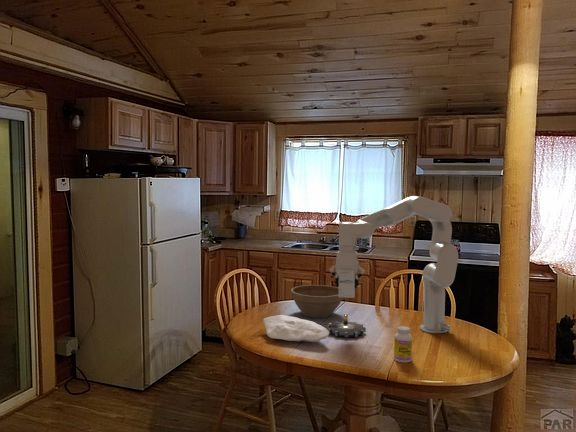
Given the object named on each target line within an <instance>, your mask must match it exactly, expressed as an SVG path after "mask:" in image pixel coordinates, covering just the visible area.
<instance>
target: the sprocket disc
mask: <svg viewBox="0 0 576 432" xmlns="http://www.w3.org/2000/svg"><path fill="white" fill-rule="evenodd" d="M348 320H349V315H348V314H347V313H344V314H343V321H334V322H329V323H328V325H329V326H326V325H325V328H326V329H327V330H328V331H329V335H334V336H335V337H344V338H349V337H355V338H357V337H359V336H360V335H361V336H364V335H365V333H366V332H367V331H366V330H367V329H366V326H364V324H362V323H358V322H356V321H352V322H351V321H348Z"/></svg>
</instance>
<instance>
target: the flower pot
mask: <svg viewBox="0 0 576 432" xmlns="http://www.w3.org/2000/svg"><path fill="white" fill-rule="evenodd" d="M290 297H291V298H292V299H293V300H294V303H295V305H296V306H297V309H298V310H300V312H301V313H303V315H304V316H305V317H308V318H314V319H316V318H317V319H319V318H320V319H321V318H327V317H330V316H331V314H332V313H334V312H335V311H336V310H337V309H338V307H339V306H340V304H341V302H342V301H343V300H344V299H345V297H339V287H337V286H332V285H321V284H307V285H298V286H295V287H293V288H292V287H291V289H290Z"/></svg>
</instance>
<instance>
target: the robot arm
mask: <svg viewBox="0 0 576 432" xmlns="http://www.w3.org/2000/svg"><path fill="white" fill-rule="evenodd" d="M415 215H416V216H420V217H422V218H425V219H427V220H429V222H430V223H431V226H432V235H431V241H430V246H429V256H430V258H431V259H432V260H434V261H436V263H435V262H431V263H429V264H427V265H426V266H425V267H424V268H423V271H422V280H423V281H422V282H423V317H422V318H423V321H422V322H423V323H422V324H420V325H419V329H420V331H422V332H425V333H429V334H445V333H447V332H448V331H450V332H451V331H452V325H449V324H447V321H446V320H445V311H446V309H445V308H446V307H445V306H446V304H445V303H446V288H448V287H451V285H452V284H453V283H454V281H455V278H456V272H457V267H458V262H459V251H458V249H457V247H456V246H455V245H454V244H452V243H451V242H452V234H453V228H452V227H453V226H452V222H451V219H452V217H453V210H452V208H451V207H450V206H449V205H448V204H446V203H442V202H439V201H436V200H433V199H430V198H426V197H423V196H421V195H420V196H419V195H411V196H409V197H406V198H404V199H402V200H400V201H398V202H395V203H394V204H392V205H390V206H388V207H385V208H381V210H378V211H375V212H373V213H370V214H369V215H366V216H363V217H362V218H360V219H358V220H356V221H355V222H353V221H341V222H340V223H339V225H338V251H337V252H336V257H335V258H336V259H335V264H334V265H332V266H331V267H329V268H328V271H329V272H330V273H331V275H332V276H333V277H334V280H335V283H334V284H335V285H336V287H337V288H339V269H342V270H355V289H357V288H358V286H359V279H360V278H361V277H362V276H363V275H364V273H365V272H366V270H365V269H364V268H363V267H361V266H360V265H359V255H358V252H357V251H359V249H360V247H359V246H357V245H356V243H357V242H356V241H357V239H358V238H359V239H369V238H371V237H372V236H373V235H374V233H375V230H376V229H380V228H383V227H388V226H389V227H390V226H394V225H396V224H399V223H401V222H402V221H405V220H407V219H409V218H411V217H412V216H415ZM334 269H335V270H334ZM359 271H360V273H359ZM358 273H359V274H358Z"/></svg>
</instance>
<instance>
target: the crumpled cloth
mask: <svg viewBox="0 0 576 432" xmlns="http://www.w3.org/2000/svg"><path fill="white" fill-rule="evenodd" d="M262 320H263V325H264V327H265V329H266V330H265V331H266V335H267V336H268V337H269V338H270V339H277V340H284V341H287V342H288V341H289V342H293V341H294V342H309V343H310V342H313V343H315V342H316V343H320V341H322V340H326V338H328V337H329V335H330V334H329V331H328V330H327V329H326V327H325V326H323V325H320V324H318V323H316V322H314V321H311V320H308V319H303V318H299V317H295V316H290V315H287V314H285V315H284V314H280V315H279V314H278V315H273V316H268V317H265V318H263V319H262Z"/></svg>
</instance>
